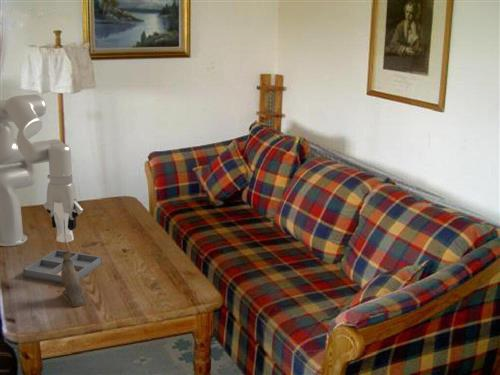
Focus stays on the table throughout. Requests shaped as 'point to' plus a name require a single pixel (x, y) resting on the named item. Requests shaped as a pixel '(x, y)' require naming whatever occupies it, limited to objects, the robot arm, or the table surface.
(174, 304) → the table surface
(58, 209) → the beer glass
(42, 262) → the gray compartment tray
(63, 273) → the brown carved statuette
